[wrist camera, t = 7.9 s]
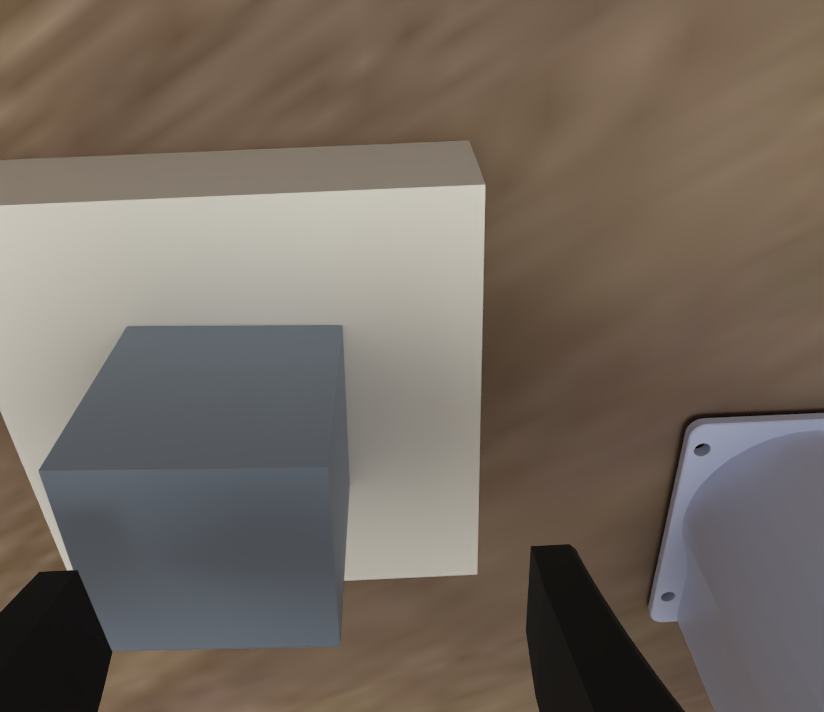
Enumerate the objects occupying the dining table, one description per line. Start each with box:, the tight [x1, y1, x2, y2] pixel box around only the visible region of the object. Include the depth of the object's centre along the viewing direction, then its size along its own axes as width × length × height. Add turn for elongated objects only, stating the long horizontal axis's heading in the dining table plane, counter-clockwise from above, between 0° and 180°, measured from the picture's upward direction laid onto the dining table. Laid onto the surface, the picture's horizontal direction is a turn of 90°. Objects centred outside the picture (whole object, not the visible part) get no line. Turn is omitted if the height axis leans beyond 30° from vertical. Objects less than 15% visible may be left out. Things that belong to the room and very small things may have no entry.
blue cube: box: [38, 326, 350, 651], centre depth 16 cm, size 5×5×5 cm
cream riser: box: [0, 140, 485, 581], centre depth 20 cm, size 12×12×4 cm
